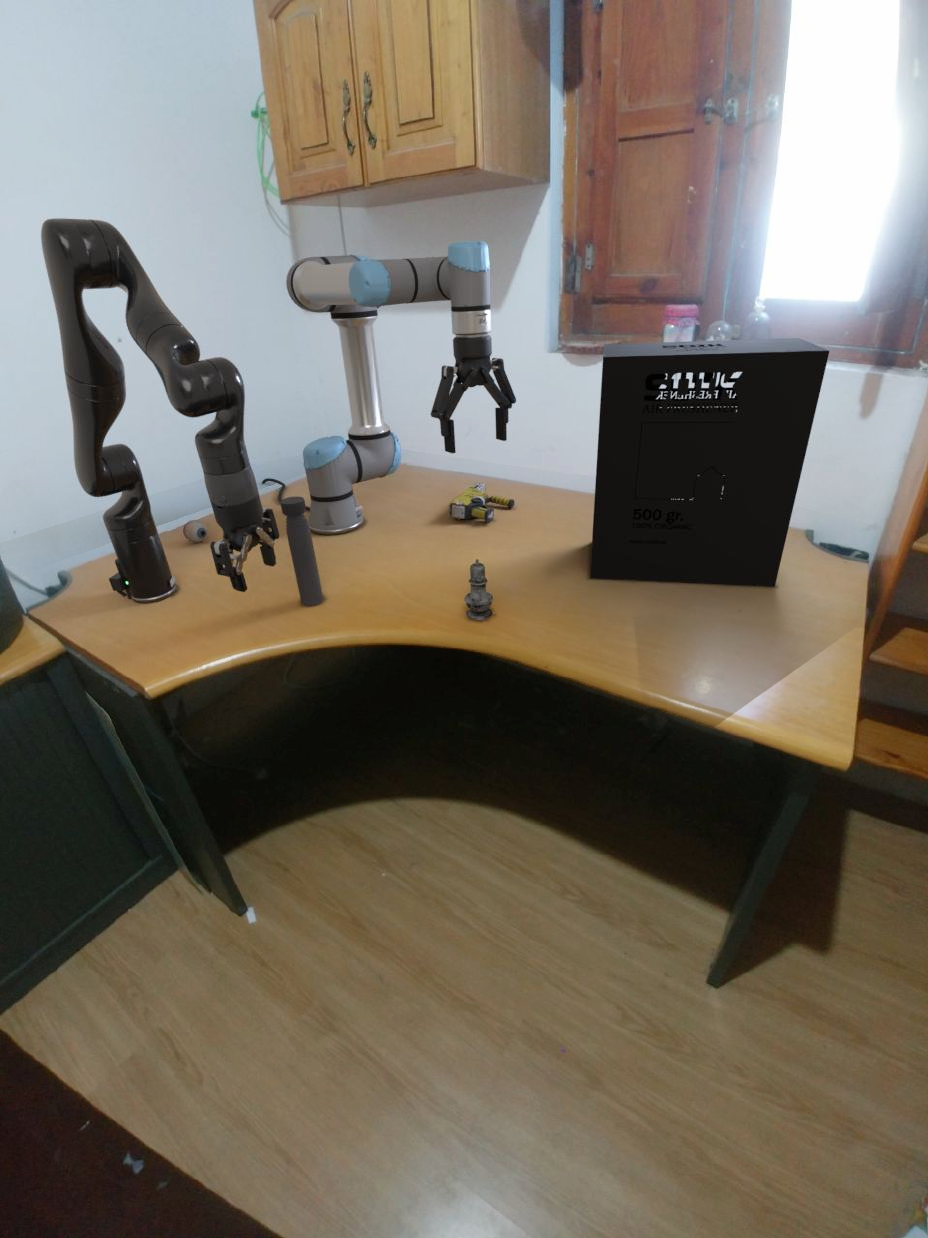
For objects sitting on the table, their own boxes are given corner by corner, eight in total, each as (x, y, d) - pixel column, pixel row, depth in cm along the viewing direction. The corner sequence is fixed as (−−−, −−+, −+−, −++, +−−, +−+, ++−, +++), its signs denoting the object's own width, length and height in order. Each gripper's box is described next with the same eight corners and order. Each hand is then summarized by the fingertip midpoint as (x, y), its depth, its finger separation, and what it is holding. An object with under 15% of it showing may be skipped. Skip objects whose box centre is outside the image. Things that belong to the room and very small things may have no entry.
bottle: (327, 601, 130) (308, 502, 119) (306, 608, 128) (285, 507, 116) (317, 593, 133) (298, 496, 122) (297, 600, 131) (276, 502, 120)
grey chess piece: (491, 621, 118) (489, 566, 112) (462, 620, 120) (458, 565, 114) (496, 607, 123) (494, 553, 117) (468, 605, 124) (465, 552, 118)
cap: (310, 512, 120) (307, 500, 119) (288, 517, 118) (285, 505, 116) (300, 506, 123) (298, 494, 122) (279, 512, 121) (276, 500, 120)
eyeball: (196, 547, 160) (190, 526, 157) (181, 543, 163) (175, 522, 160) (215, 539, 164) (209, 518, 161) (200, 536, 167) (194, 515, 164)
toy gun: (522, 487, 180) (475, 480, 184) (500, 511, 160) (447, 502, 164) (521, 502, 182) (474, 495, 186) (499, 527, 162) (447, 519, 166)
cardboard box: (755, 547, 142) (798, 337, 120) (774, 586, 125) (829, 350, 102) (592, 542, 150) (603, 344, 127) (589, 578, 133) (603, 356, 110)
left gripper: (241, 472, 103) (262, 553, 113) (184, 508, 92) (212, 595, 102) (279, 478, 101) (296, 560, 111) (224, 516, 90) (249, 603, 100)
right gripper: (429, 342, 108) (437, 460, 118) (533, 329, 120) (532, 437, 131) (407, 340, 113) (417, 454, 124) (508, 328, 125) (510, 432, 136)
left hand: (256, 577), depth 106 cm, fingers open, 8 cm apart
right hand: (476, 445), depth 127 cm, fingers open, 13 cm apart
